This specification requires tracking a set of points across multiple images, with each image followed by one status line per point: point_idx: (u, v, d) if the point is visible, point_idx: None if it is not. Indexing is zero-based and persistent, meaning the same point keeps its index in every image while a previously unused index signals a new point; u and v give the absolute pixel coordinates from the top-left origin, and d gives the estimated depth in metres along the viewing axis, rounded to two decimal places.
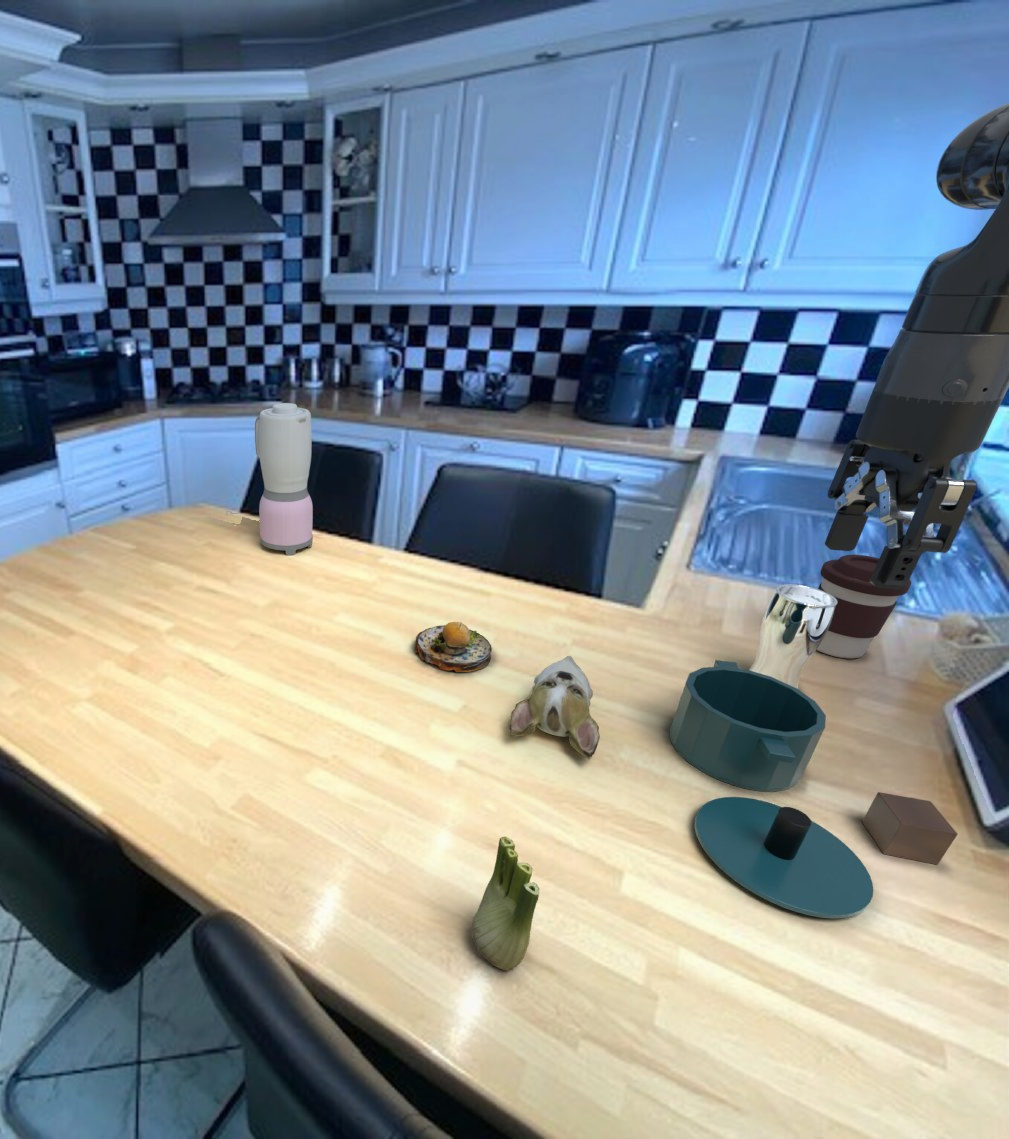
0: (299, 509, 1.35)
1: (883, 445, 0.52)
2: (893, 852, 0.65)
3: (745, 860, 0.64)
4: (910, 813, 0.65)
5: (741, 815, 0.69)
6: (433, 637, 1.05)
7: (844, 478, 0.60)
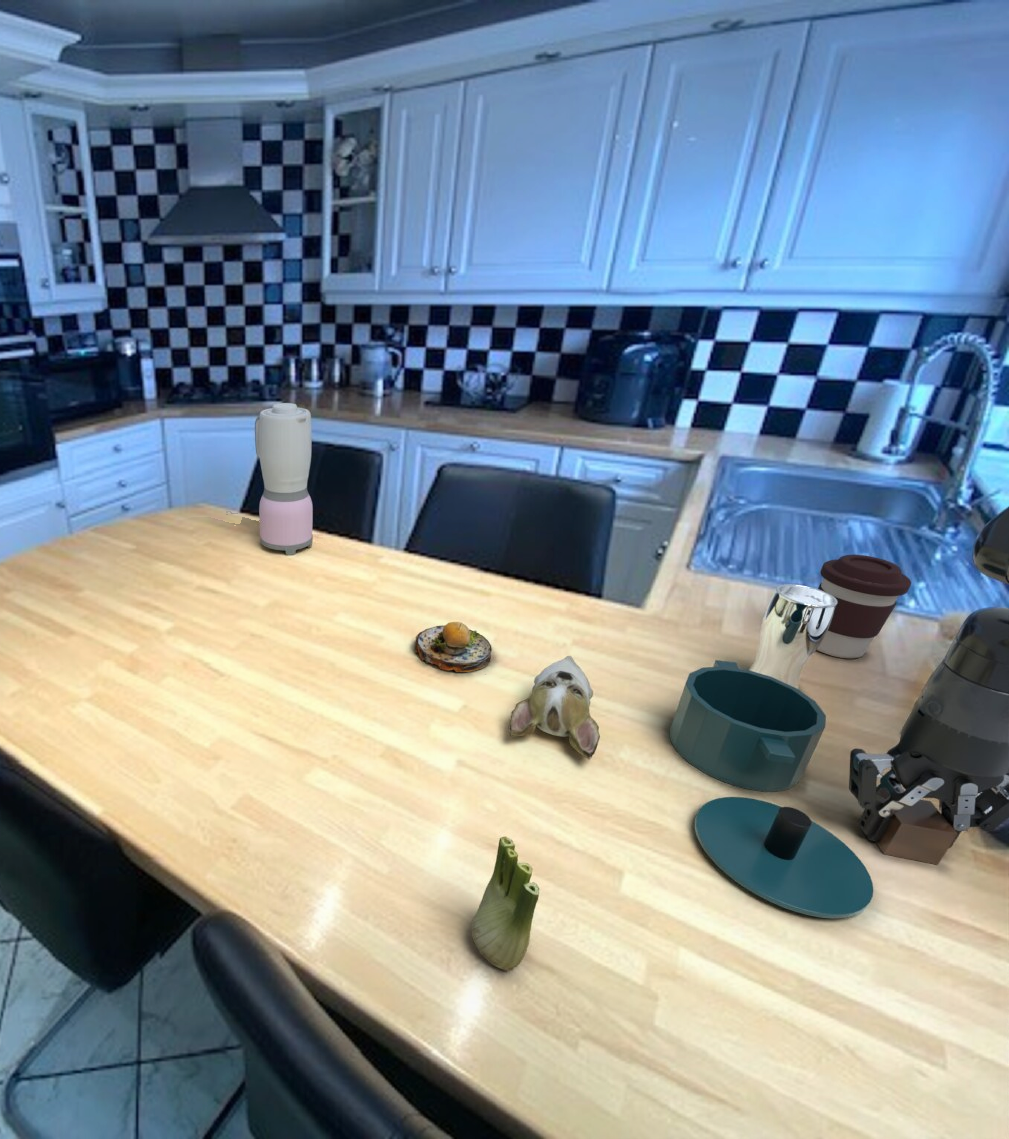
0: (299, 509, 1.35)
1: (1003, 774, 0.58)
2: (893, 852, 0.65)
3: (745, 860, 0.64)
4: (910, 814, 0.65)
5: (741, 815, 0.69)
6: (433, 637, 1.05)
7: None
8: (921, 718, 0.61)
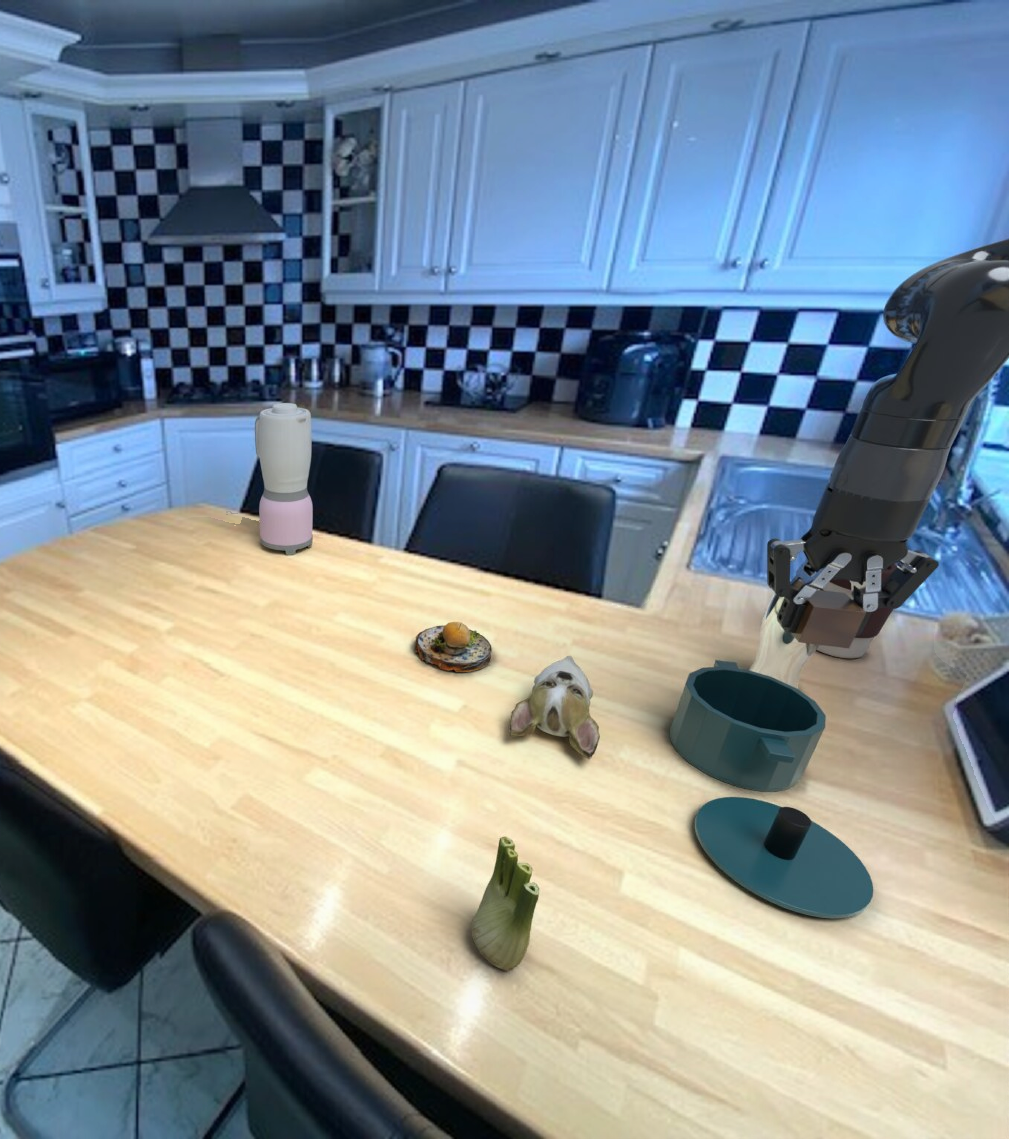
0: (299, 509, 1.35)
1: (904, 539, 0.60)
2: (807, 639, 0.67)
3: (745, 860, 0.64)
4: (824, 600, 0.67)
5: (741, 815, 0.69)
6: (433, 637, 1.05)
7: None
8: (830, 494, 0.63)
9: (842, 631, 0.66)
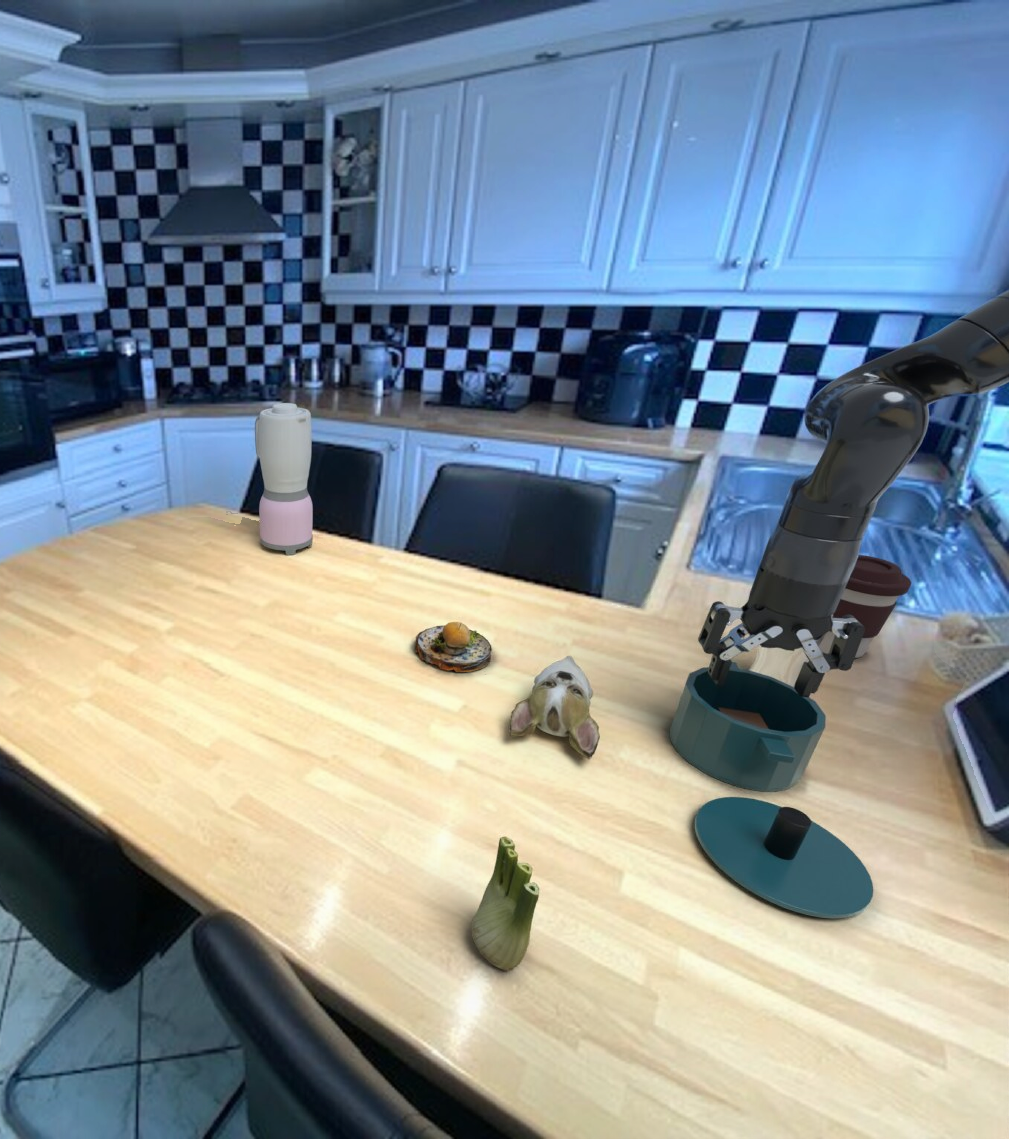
0: (299, 509, 1.35)
1: (826, 616, 0.67)
2: None
3: (745, 860, 0.64)
4: None
5: (741, 815, 0.69)
6: (433, 637, 1.05)
7: None
8: (762, 573, 0.70)
9: None
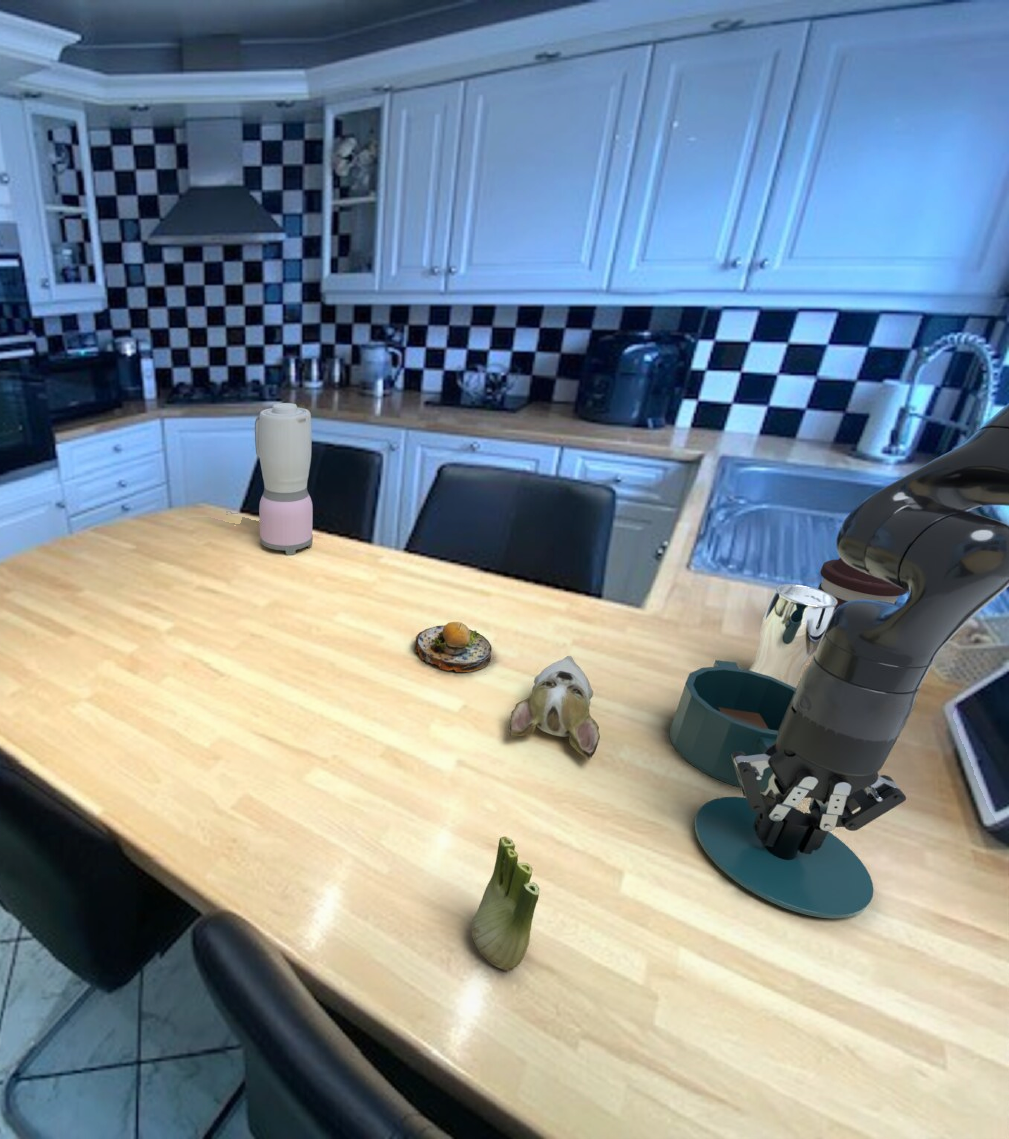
0: (299, 509, 1.35)
1: (872, 773, 0.56)
2: None
3: (745, 860, 0.64)
4: None
5: (741, 815, 0.69)
6: (433, 637, 1.05)
7: None
8: (793, 715, 0.59)
9: None
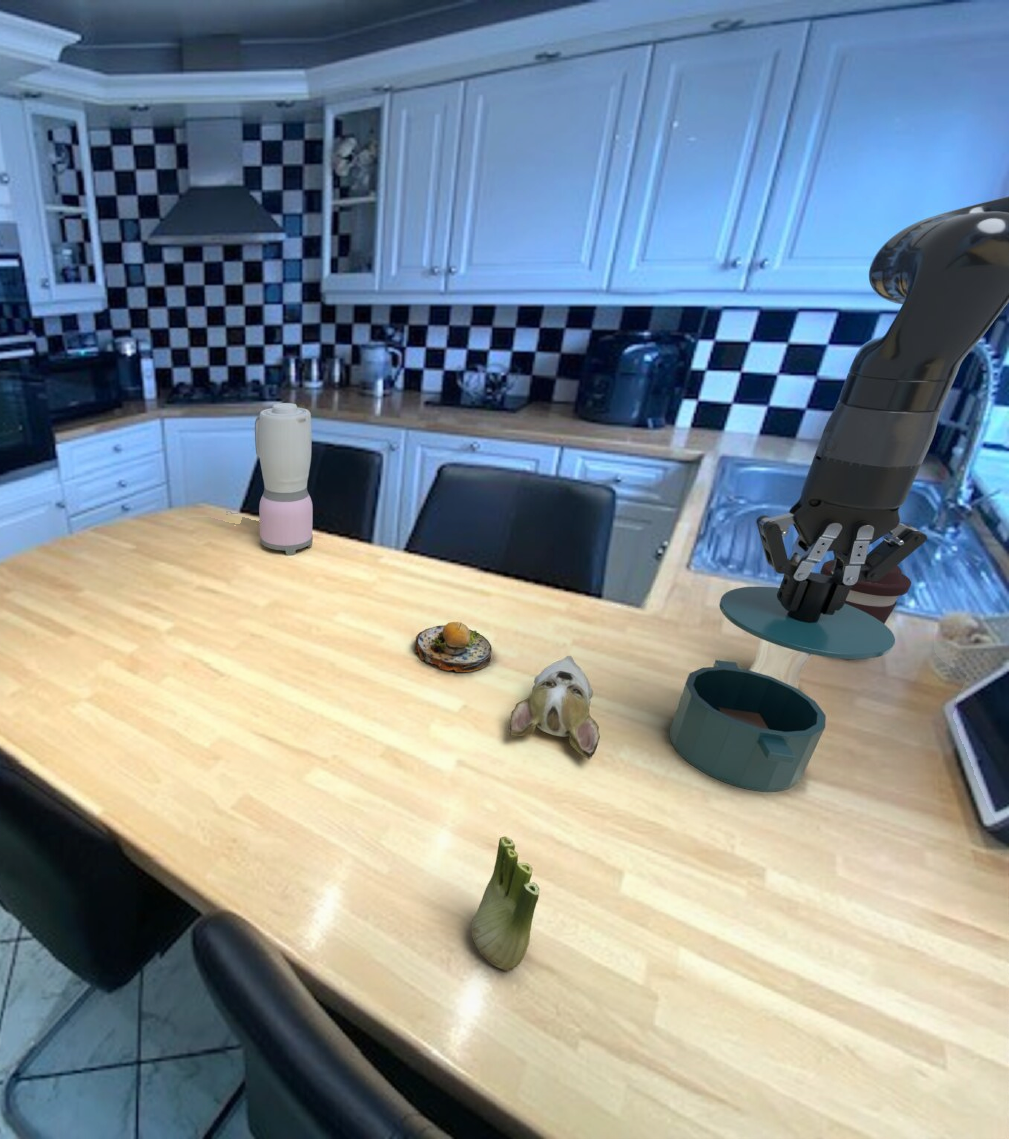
0: (299, 509, 1.35)
1: (895, 507, 0.58)
2: None
3: (770, 624, 0.66)
4: None
5: (764, 597, 0.72)
6: (433, 637, 1.05)
7: None
8: (818, 463, 0.61)
9: None
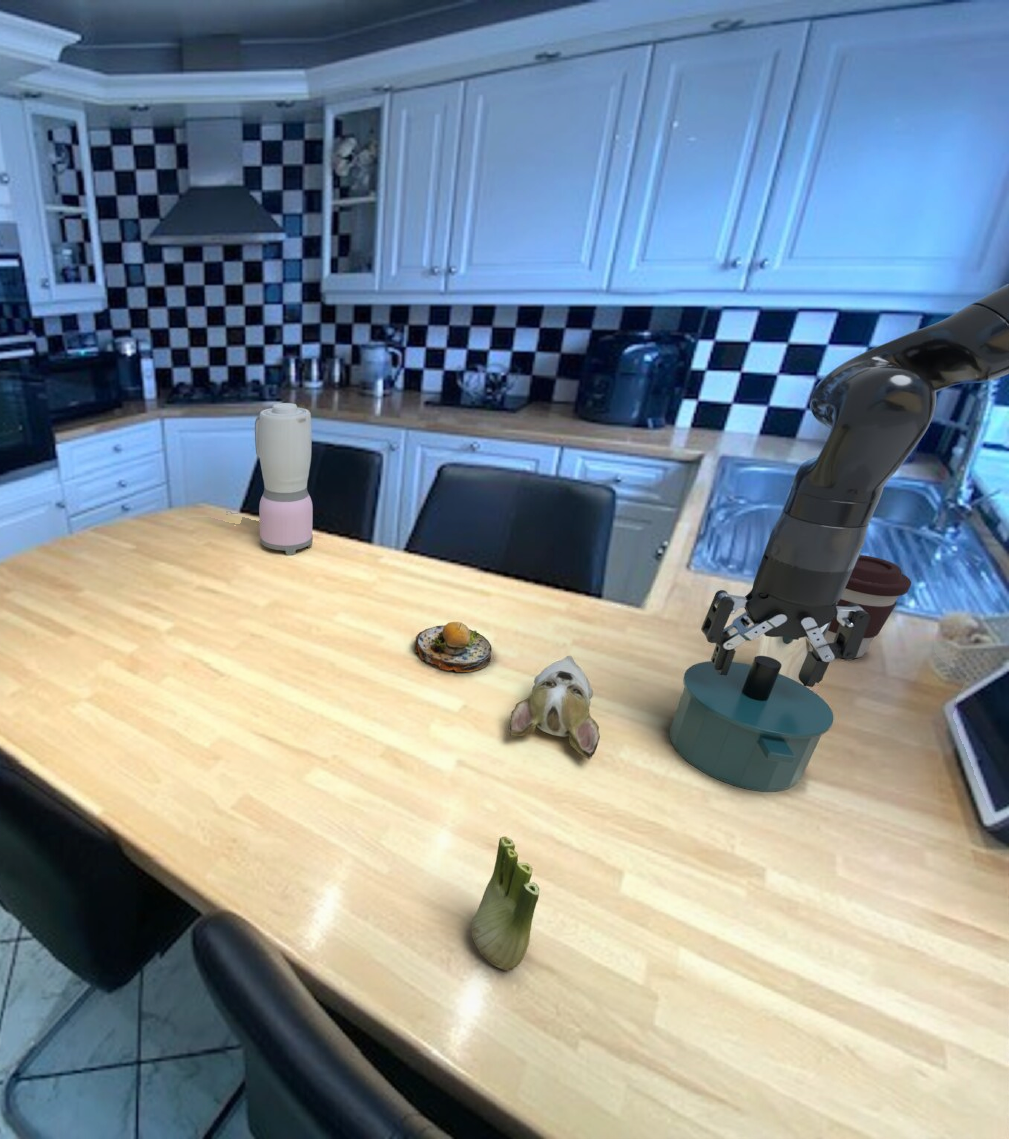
0: (299, 509, 1.35)
1: (831, 604, 0.66)
2: None
3: (725, 701, 0.75)
4: None
5: None
6: (433, 637, 1.05)
7: None
8: (766, 561, 0.69)
9: None
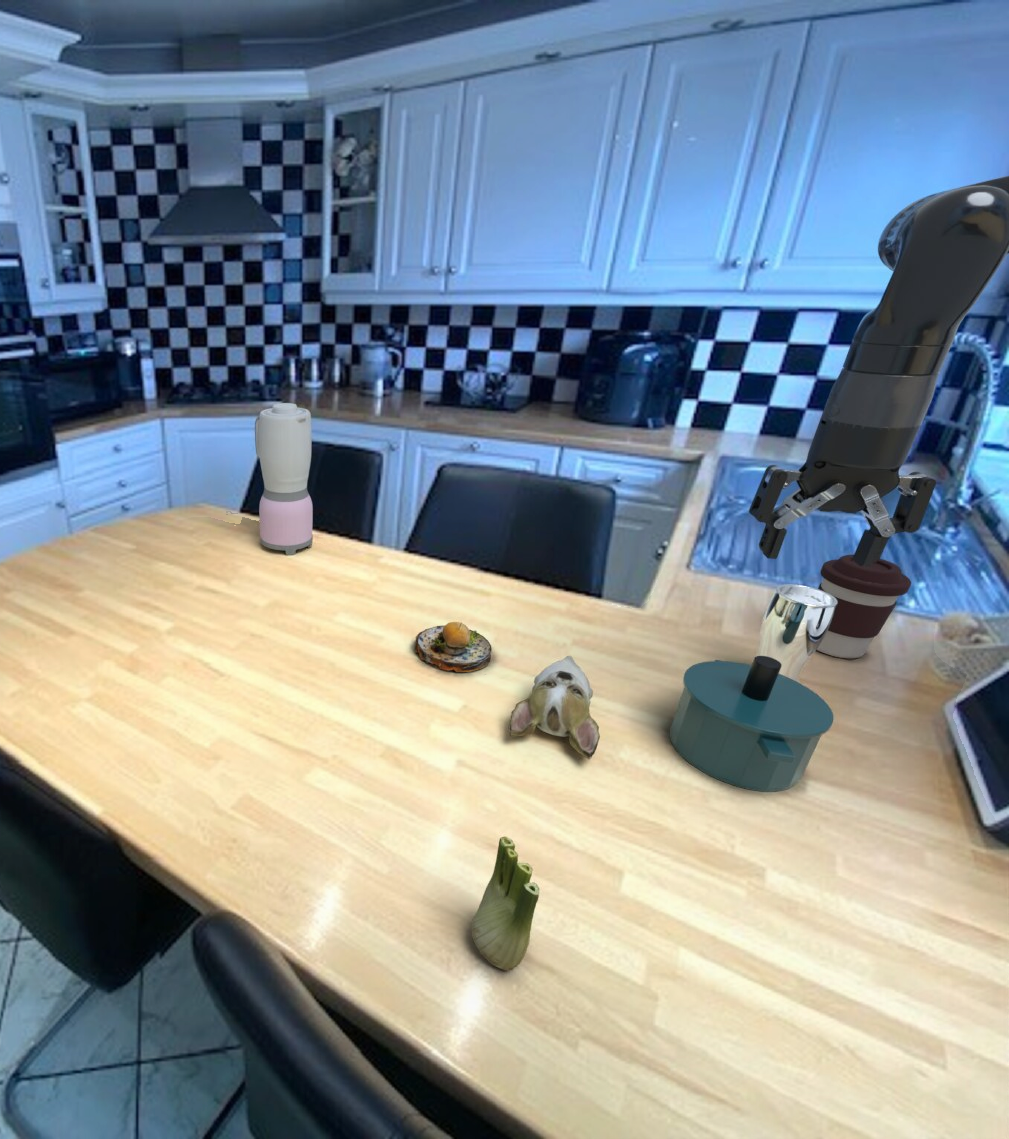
0: (299, 509, 1.35)
1: (895, 466, 0.62)
2: None
3: (725, 701, 0.75)
4: None
5: (723, 672, 0.80)
6: (433, 637, 1.05)
7: None
8: (823, 426, 0.65)
9: None
